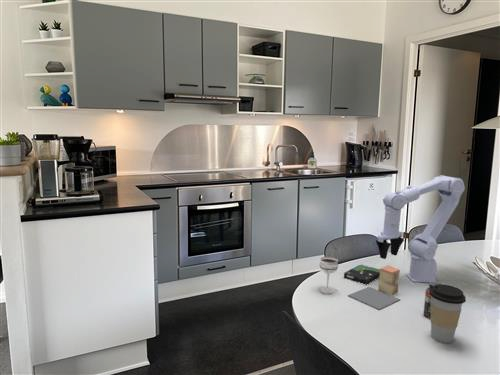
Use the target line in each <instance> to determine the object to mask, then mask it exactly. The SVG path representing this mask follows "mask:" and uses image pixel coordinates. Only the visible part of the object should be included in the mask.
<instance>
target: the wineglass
mask: <svg viewBox="0 0 500 375" xmlns="http://www.w3.org/2000/svg"><path fill="white" fill-rule="evenodd" d="M319 260H320V262H319V268H320V269H321V271H322V272H323V273H325V274H326V287H320V291H321V292H323V293H324V294H325V293H326V294H332V293H334V291H335V290H334V289H333V288H331V287H329V283H330V282H329V280H330V276H331V275H332V274H333V273H335V272H336V271H337V270H338V267H339V263H338V262H339V260H338V259H337V258H336V257H333V256H322V257H320V258H319Z"/></svg>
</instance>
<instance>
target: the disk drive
mask: <svg viewBox="0 0 500 375" xmlns="http://www.w3.org/2000/svg"><path fill="white" fill-rule="evenodd" d="M379 276H380V269H379V268H377V267H372V266H367V265H364V264H359V265H356V266H355V267H353V268H351V269H348V270H347V271H345V272H344V273H343V279H346V278H347V279H346V280H349V279H350V281H352V280H353V282H355V281H356V283H358V282H360V283H359V284H361V283H363V284H362V285H364V284H366V285H365V286H368V285H369V283H370V282H371V283H372V281H373V282H374V281H376V280H377V279H379V278H378V277H379ZM375 279H376V280H375ZM371 283H370V284H371ZM367 284H368V285H367Z"/></svg>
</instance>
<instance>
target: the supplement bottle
mask: <svg viewBox="0 0 500 375" xmlns="http://www.w3.org/2000/svg"><path fill="white" fill-rule="evenodd" d="M438 284H442V282H438V281H436V282H429V287H427V288H425V294H424V295H425V297H424V306H423V315H424V316H425V317H426V318H428V319H430V320H431V295H430V294H429V292H430V290H431V289H432V288H433V286H434V285H438Z"/></svg>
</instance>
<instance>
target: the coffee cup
mask: <svg viewBox="0 0 500 375" xmlns="http://www.w3.org/2000/svg"><path fill="white" fill-rule="evenodd" d="M429 294H430V295H431V319H430V326H431V327H430V328H431V329H430V336H431V338H432V339H434V340H435V341H437V342H440V343H443V344H444V343H445V344H449V343H453V342H454V338H455V335H456V330H457V327H458V325H459V320H460V316H461V314H462V305H463V304H464V303H465V302H466V296H465V295H464V291H463V290H462V289H460V288H458V287H455V286H453V285H449V284H443V283H441V284H438V285H434V286H433V288H432V289H431V290H430V292H429Z"/></svg>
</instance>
